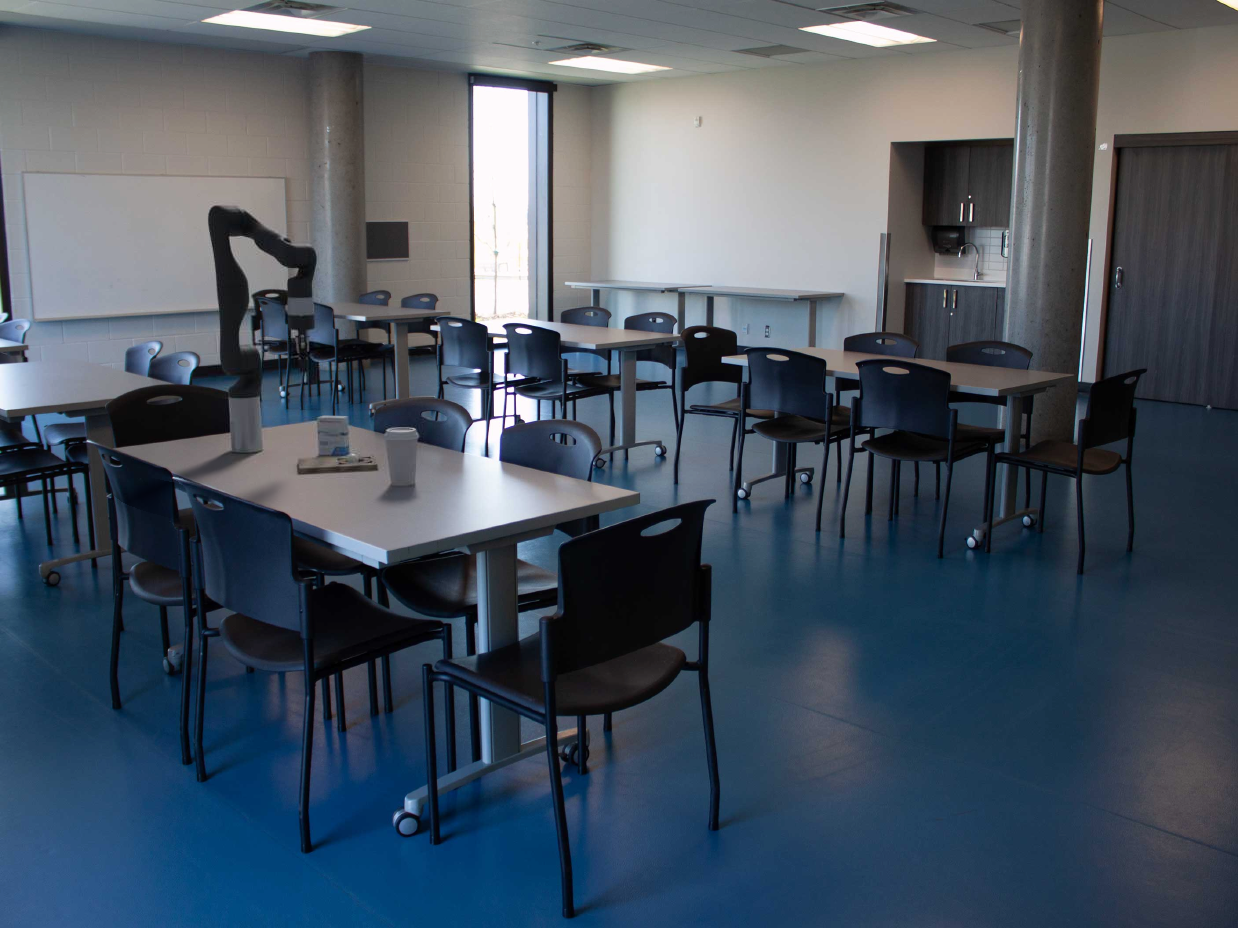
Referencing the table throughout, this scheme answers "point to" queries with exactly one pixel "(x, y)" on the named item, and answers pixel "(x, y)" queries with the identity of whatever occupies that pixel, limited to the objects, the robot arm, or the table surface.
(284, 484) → the table surface
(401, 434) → the coffee cup
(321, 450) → the ink box
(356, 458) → the ball
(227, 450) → the table surface
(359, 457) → the wooden board
